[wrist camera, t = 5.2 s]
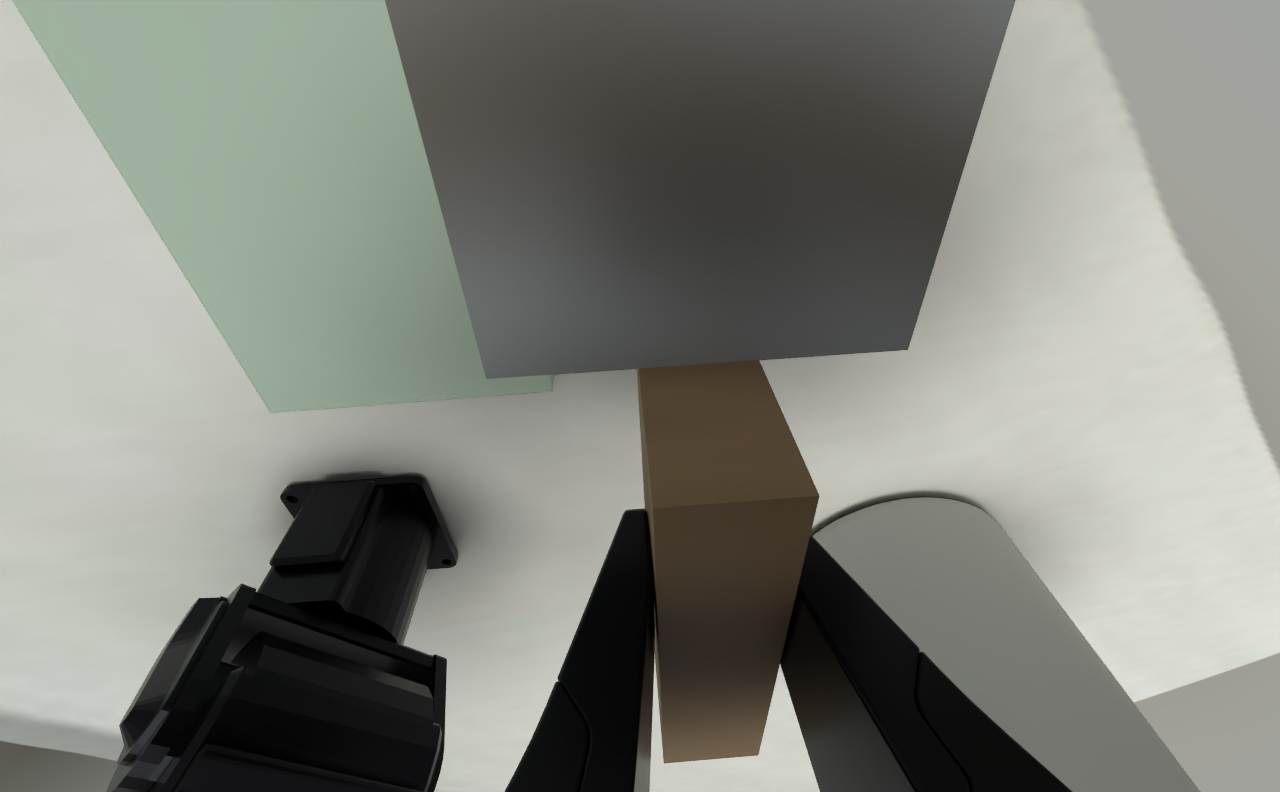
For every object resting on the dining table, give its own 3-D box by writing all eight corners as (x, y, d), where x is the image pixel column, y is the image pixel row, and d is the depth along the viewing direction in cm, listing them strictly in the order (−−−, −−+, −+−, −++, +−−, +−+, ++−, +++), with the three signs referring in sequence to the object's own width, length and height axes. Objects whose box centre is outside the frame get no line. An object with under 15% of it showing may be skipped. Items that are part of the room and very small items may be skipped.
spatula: (813, 579, 14) (875, 745, 11) (557, 599, 14) (545, 773, 11) (1004, -147, 6) (1476, -325, 3) (383, -117, 6) (112, -270, 3)
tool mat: (554, 376, 21) (552, 391, 21) (283, 397, 21) (270, 413, 20) (412, -364, 10) (397, -393, 10) (-147, -327, 10) (-210, -354, 10)
